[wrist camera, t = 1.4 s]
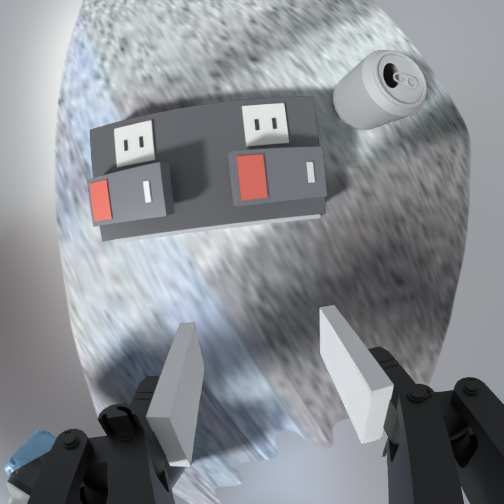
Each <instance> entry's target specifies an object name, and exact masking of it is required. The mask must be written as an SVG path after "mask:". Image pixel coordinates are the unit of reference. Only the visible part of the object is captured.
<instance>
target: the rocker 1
mask: <svg viewBox="0 0 504 504" xmlns="http://www.w3.org/2000/svg"><path fill="white" fill-rule="evenodd" d="M87 183H88V192H89V200H90V207H91V214H92V220H93V226H100V225H107V224H113V223H120V222H127V221H133V220H141V219H148V218H155V217H163V216H168V215H171V214H174V213H175V209H174V201H173V193H172V185H171V177H170V168H169V163H166V162H158V163H153V164H148V165H144V166H139V167H135V168H131V169H127V170H123V171H119V172H115V173H111V174H107V175H103V176H99V177H96V178H92V179H88V180H87Z"/></svg>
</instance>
